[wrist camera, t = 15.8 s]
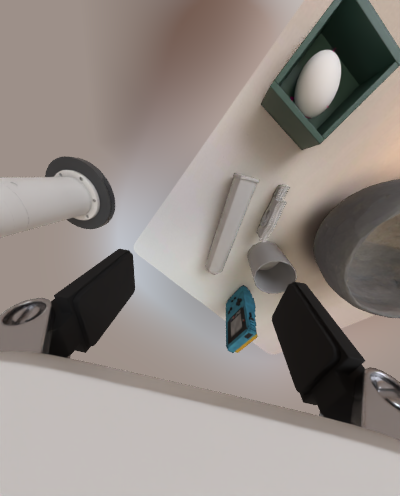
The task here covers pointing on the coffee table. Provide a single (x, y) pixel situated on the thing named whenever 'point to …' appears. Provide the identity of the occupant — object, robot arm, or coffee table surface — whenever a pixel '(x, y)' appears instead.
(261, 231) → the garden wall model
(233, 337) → the handheld gaming console
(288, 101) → the bin
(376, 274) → the bowl
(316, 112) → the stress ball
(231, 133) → the coffee table surface
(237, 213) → the tube
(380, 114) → the coffee table surface
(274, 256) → the cup
